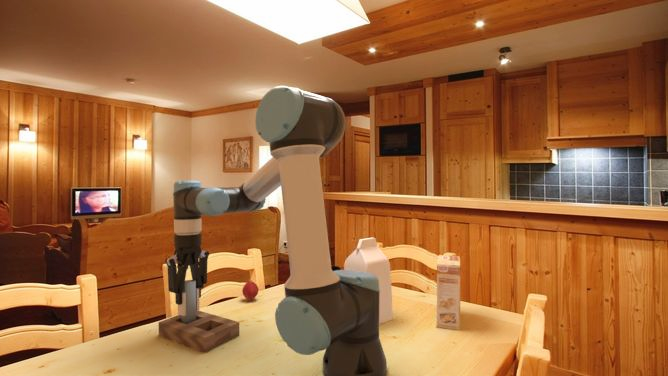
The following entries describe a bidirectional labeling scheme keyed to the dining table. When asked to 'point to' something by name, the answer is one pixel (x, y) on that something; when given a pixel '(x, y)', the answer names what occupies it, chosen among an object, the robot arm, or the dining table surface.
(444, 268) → the coffeecake box
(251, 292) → the onion
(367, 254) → the milk
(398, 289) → the dining table surface
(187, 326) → the socket board
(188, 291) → the peg
